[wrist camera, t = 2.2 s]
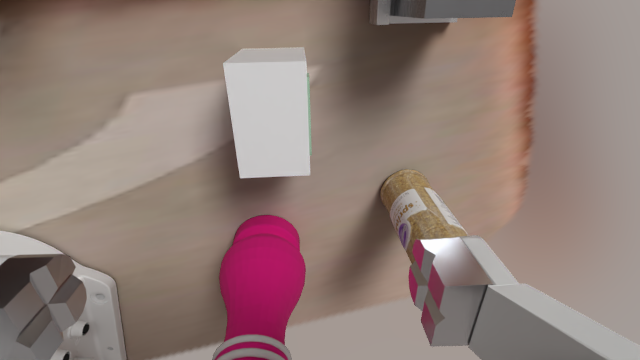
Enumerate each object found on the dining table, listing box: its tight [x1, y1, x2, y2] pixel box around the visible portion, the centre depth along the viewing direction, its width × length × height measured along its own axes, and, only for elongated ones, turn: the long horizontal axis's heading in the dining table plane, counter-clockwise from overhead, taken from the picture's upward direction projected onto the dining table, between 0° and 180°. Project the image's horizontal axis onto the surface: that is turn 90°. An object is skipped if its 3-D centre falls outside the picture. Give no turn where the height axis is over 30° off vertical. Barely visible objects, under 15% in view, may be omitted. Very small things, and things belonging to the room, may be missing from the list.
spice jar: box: [380, 169, 468, 264], centre depth 24 cm, size 5×5×13 cm
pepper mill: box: [212, 215, 306, 360], centre depth 23 cm, size 7×7×20 cm
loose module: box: [223, 47, 312, 178], centre depth 23 cm, size 7×5×7 cm
